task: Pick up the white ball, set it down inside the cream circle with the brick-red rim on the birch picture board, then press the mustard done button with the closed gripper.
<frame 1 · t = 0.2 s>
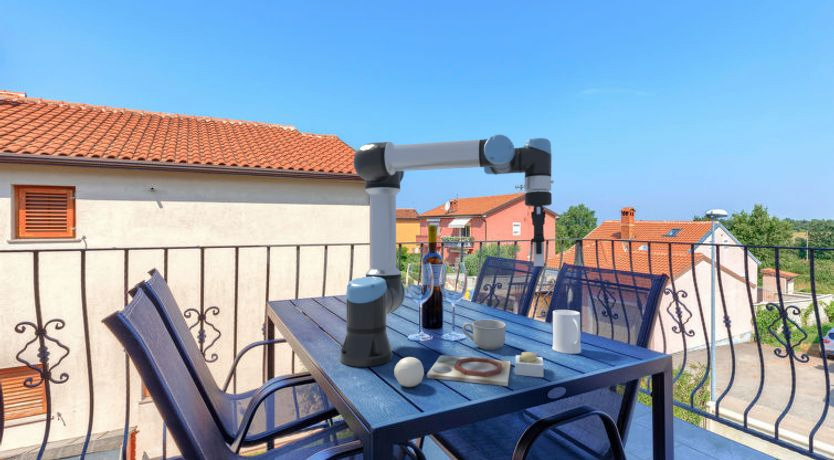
hand: (538, 264, 112), 28 cm above the table, tool pointing down, fingers open, 13 cm apart
button housing: (529, 371, 102), on the table
white ball: (408, 386, 93), on the table
mug: (568, 352, 120), on the table
teacup: (484, 347, 125), on the table
picture board: (470, 371, 102), on the table
done button: (529, 357, 102), point 4 cm above the table, slide at 0.0 cm
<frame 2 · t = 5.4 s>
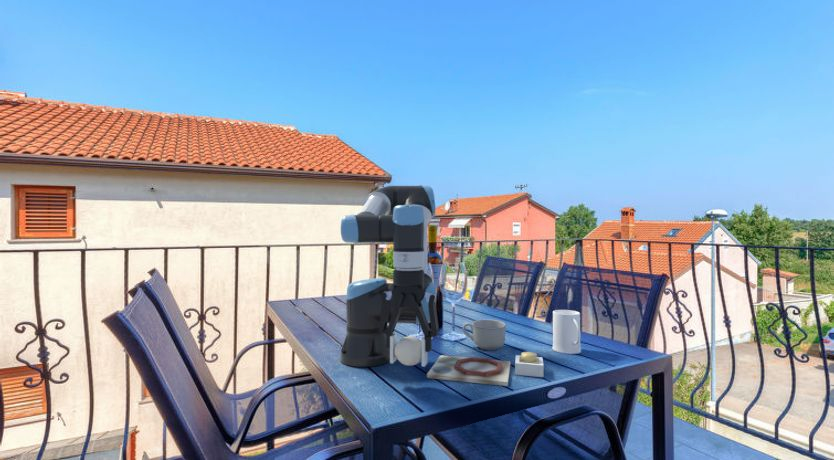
hand: (408, 362, 93), 5 cm above the table, tool pointing down, fingers closed on white ball, 7 cm apart
white ball: (408, 365, 93), point 5 cm above the table, touching gripper
everything else where it was.
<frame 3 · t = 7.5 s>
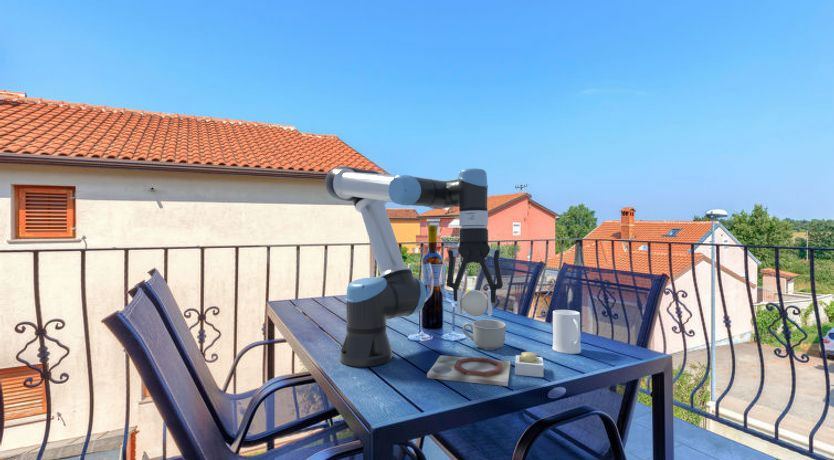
hand: (474, 314, 101), 15 cm above the table, tool pointing down, fingers closed on white ball, 7 cm apart
white ball: (474, 316, 101), point 15 cm above the table, touching gripper
everything else where it was.
when the fingers open (3 cm above the table, at t = 9.7 s): white ball drops 1 cm, resting on picture board.
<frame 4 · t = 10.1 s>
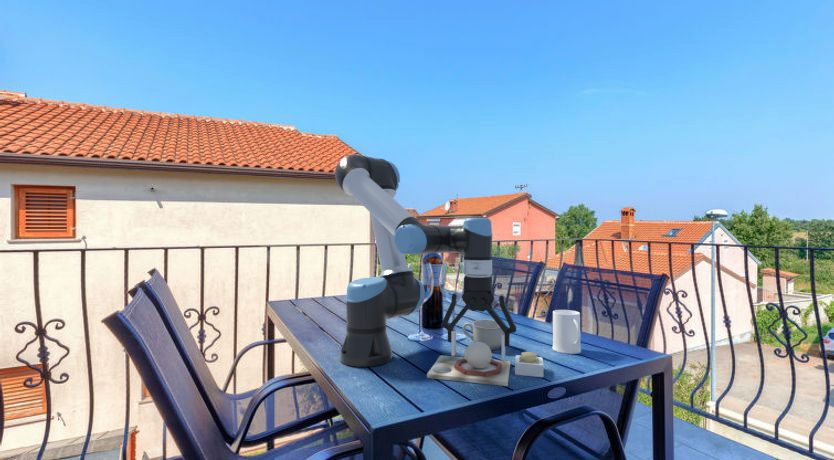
hand: (478, 356, 102), 4 cm above the table, tool pointing down, fingers open, 12 cm apart
white ball: (477, 368, 102), point 1 cm above the table, touching picture board
everything else where it was.
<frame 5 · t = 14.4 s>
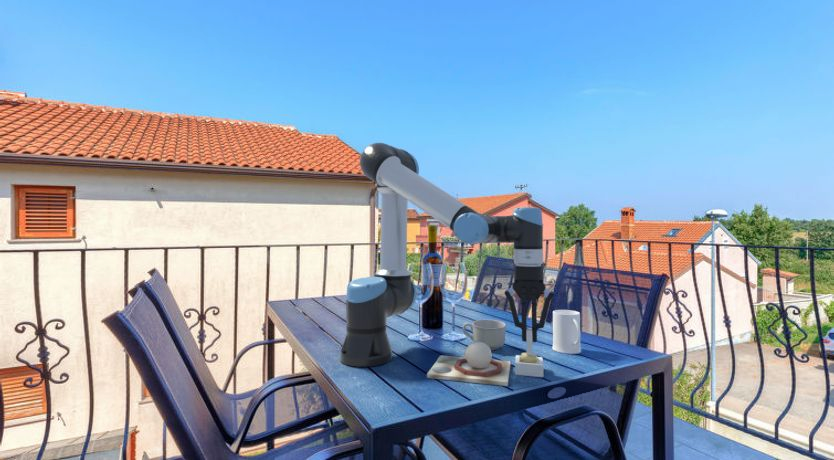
hand: (529, 353, 102), 5 cm above the table, tool pointing down, fingers closed
done button: (529, 357, 102), point 4 cm above the table, slide at 0.2 cm, touching gripper
everything else where it was.
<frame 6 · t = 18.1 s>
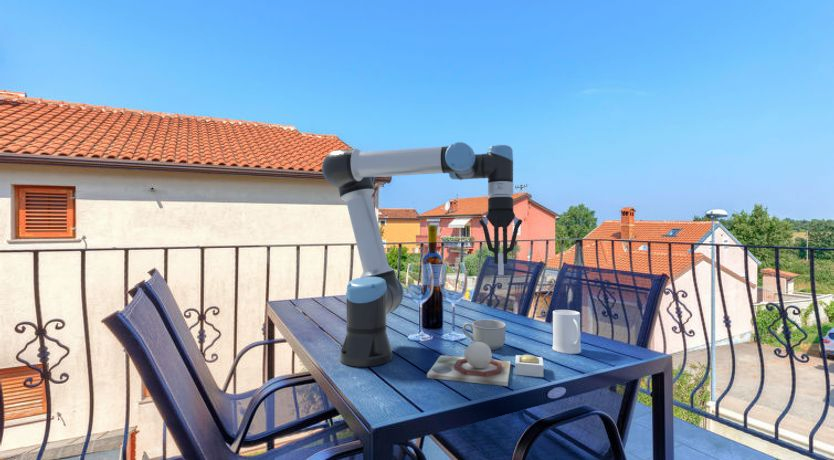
hand: (500, 274, 116), 24 cm above the table, tool pointing down, fingers closed
done button: (529, 360, 102), point 3 cm above the table, slide at 0.8 cm
everything else where it was.
at the end: white ball 0.1 cm from the target spot on the picture board, point 0.9 cm above the picture board's base; white ball touching picture board; done button slide at 0.8 cm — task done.
